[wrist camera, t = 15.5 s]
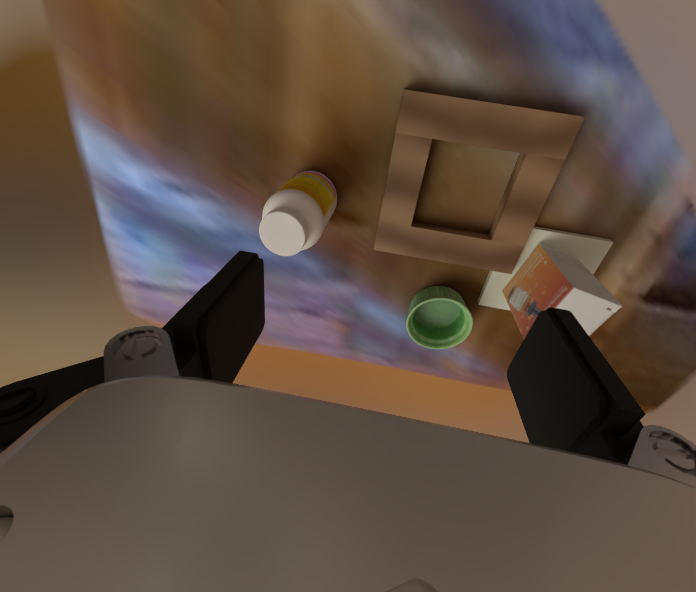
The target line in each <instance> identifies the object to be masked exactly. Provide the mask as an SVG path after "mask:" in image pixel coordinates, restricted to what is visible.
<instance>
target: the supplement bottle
mask: <svg viewBox="0 0 696 592" xmlns="http://www.w3.org/2000/svg"><path fill="white" fill-rule="evenodd" d="M336 205H337V193H336V190H335V187H334V185H333V184H332V182H331V181H330V180H329V179H328V178H327V177H326V176H325V175H323V174H321V173H319V172H316V171H303V172H300V173H298V174H297V175H295V176H294V177H293V178H291V179H290V180H289V181H288V182H287V183H286V184H285V185H284V186H283V187H281V188H280V189H279V190H278V191H277V192H276V193H274V194H273V195H272V196H271V197H270V198H269V199H268V201H267V202H266V204H265V206H264V209H263V213H262V221H261V223H260V227H259V233H260V237H261V240H262V242H263V243H264V245H265V246H266V247H267V248H268V249H269V250H270V251H272V252H273V253H275V254H277V255H280V256H292V255H295V254H297V253H298V252H299V251H301V250H305V249H307V248H309V247H311V246H313V245H314V244H315V243H316V242H317V241H318V240H319V238H320V236H321V235H322V233H323V231H324V229H325V227H326V225H327V223H328V222H329V220H330V218H331V216H332V214H333V213H334V210H335V208H336Z"/></svg>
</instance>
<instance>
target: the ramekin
mask: <svg viewBox="0 0 696 592" xmlns="http://www.w3.org/2000/svg"><path fill="white" fill-rule="evenodd" d="M472 327H473V318H472V315H471V313H470V311H469V309H468V308H467V307H466V304H465V302H464V300H463V298H462V297H461V295H460V294H459V293H458V292H456V291H455V290H453V289H451V288H449V287H445V286H431V287H427V288H425V289H423V290H421V291H419V292H418V293H417V294H416V295H415V296H414V297H413V299H412V300H411V303H410V306H409V314H408V316H407V320H406V328H407V331H408V334H409V335H410V337H411V338H412V339H413V340H414V341H415V342H416V343H418V344H419V345H421V346H423V347H427V348H431V349H446V348H450V347H453V346H456V345H458V344H460V343H461V342H463V341H464V340H465V339H466V338H467V337H468V336H469V334H470V332H471V330H472Z"/></svg>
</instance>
